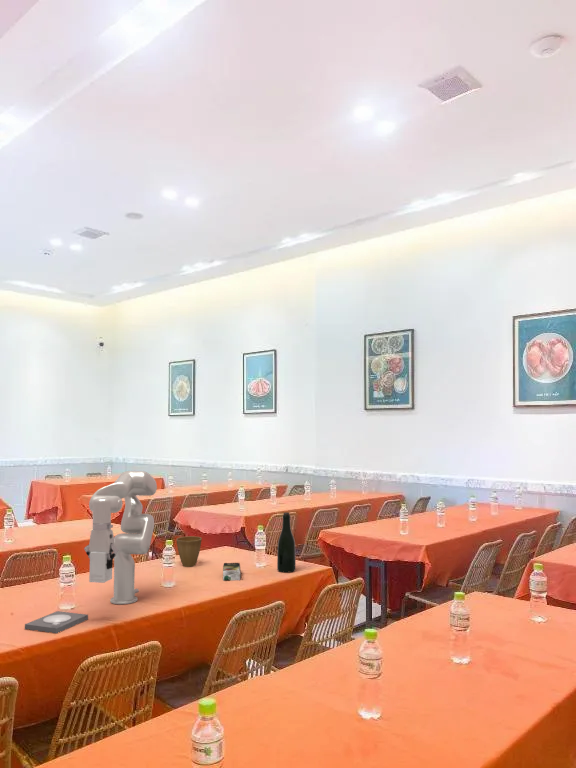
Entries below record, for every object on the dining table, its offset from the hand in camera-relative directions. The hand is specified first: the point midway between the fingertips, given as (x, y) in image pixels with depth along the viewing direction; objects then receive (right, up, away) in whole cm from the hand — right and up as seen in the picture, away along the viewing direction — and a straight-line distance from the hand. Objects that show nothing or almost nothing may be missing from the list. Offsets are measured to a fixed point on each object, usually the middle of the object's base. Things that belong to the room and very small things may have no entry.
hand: (100, 567), depth 281 cm
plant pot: (+22, -29, +104) cm, 110 cm away
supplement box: (0, -6, 0) cm, 6 cm away
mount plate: (-16, -21, -8) cm, 28 cm away
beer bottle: (+80, -28, +91) cm, 124 cm away
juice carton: (+50, -27, +77) cm, 96 cm away
